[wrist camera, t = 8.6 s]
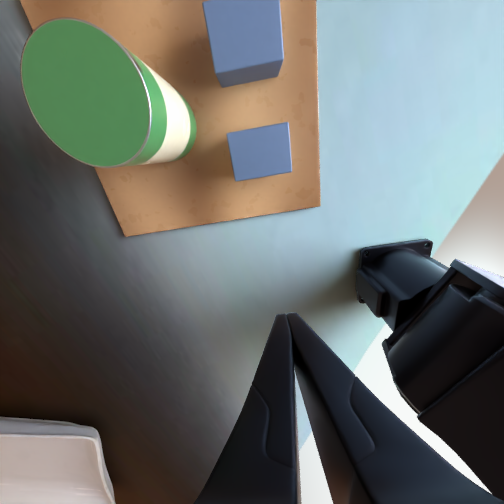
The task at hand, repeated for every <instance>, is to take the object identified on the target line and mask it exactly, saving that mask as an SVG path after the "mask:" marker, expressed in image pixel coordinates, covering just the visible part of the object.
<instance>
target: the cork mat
mask: <svg viewBox="0 0 504 504" xmlns="http://www.w3.org/2000/svg"><path fill="white" fill-rule="evenodd" d="M204 1H208V0H20V2H21V4H22V6H23V9H24V11H25V13H26V15H27V18H28V20H29V22H30V24H31V27H32V29H33V31H34V30H35V29H36V28H37V27H38V26H39V25H41V24H42V23H44V22H46V21H48V20H51V19H54V18H61V17H68V18H76V19H81V20H84V21H87V22H89V23H92V24H94V25H96V26H98V27H99V28H101V29H103V30H104V31H106V32H107V33H108V34H110V35H111V36H112V37H114V38H115V39H116V40H117V41H118V42H119V43H121V44H122V45H123V46H124V47H125V48H127V49H128V50H129V51H130V52H131V53H133V54H134V55H135V56H137V57H138V58H139V59H140V60H141V61H143V62H144V63H145V64H146V65H147V66H149V67H150V68H151V69H152V70H153V71H155V72H156V73H157V74H158V75H159V76H161V77H162V78H163V79H164V80H165V81H166V82H168V83H169V84H170V85H171V86H172V87H173V88H175V89H176V90H177V91H178V92H179V93H180V94H182V95H183V97H184V98H185V99H186V100H187V102H188V103H189V105H190V106H191V108H192V110H193V113H194V116H195V119H196V127H197V132H196V139H195V142H194V145H193V147H192V149H191V150H190V152H189V153H188V154H187V155H186V156H184V157H183V158H181V159H179V160H176V161H171V162H163V163H154V164H145V165H136V166H125V167H116V168H99V167H94V168H95V170H96V172H97V174H98V177H99V179H100V181H101V183H102V186H103V188H104V190H105V192H106V194H107V197H108V199H109V201H110V203H111V206H112V208H113V210H114V212H115V215H116V217H117V219H118V221H119V224H120V226H121V228H122V230H123V233H124V235H125V237H127V236H134V235H140V234H146V233H153V232H159V231H165V230H172V229H178V228H185V227H191V226H197V225H204V224H210V223H216V222H223V221H229V220H236V219H242V218H248V217H255V216H261V215H267V214H274V213H280V212H287V211H293V210H299V209H306V208H312V207H318V206H320V160H319V113H318V66H317V18H316V0H280V10H281V24H282V37H283V51H284V60H283V63H282V66H281V69H280V72H279V75H278V77H274V78H269V79H264V80H259V81H254V82H249V83H244V84H239V85H234V86H229V87H224V88H222V87H221V85H220V83H219V81H218V78H217V76H216V74H215V71H214V66H213V60H212V55H211V49H210V44H209V39H208V33H207V28H206V22H205V17H204V12H203V6H202V2H204ZM284 122H288V123H289V133H290V147H291V160H292V172H290V173H284V174H278V175H272V176H266V177H260V178H254V179H248V180H243V181H237V182H236V181H235V179H234V173H233V168H232V162H231V157H230V152H229V146H228V141H227V135H226V134H227V133H230V132H235V131H241V130H246V129H251V128H257V127H262V126H268V125H273V124H278V123H284Z"/></svg>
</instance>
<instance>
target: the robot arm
mask: <svg viewBox="0 0 504 504" xmlns="http://www.w3.org/2000/svg"><path fill="white" fill-rule="evenodd" d="M426 243H427V244H426ZM425 244H426V245H425ZM424 245H425V246H424ZM432 246H433V242H432V241H430V240H428V239H421V240H414V241H407V242H400V243H393V244H386V245H379V246H372V247H365V248H363V249H362V250H361V251H360V259H359V268H358V270H357V277H356V291H357V300H358V301H359V302H360V303H366V304H367V306H368V307H369V308H370V310H371V311H372V312H373V314H374V315H375V316H376V317H378V318H380V317H382V318H383V319H384V321H385V322H386V323H387V324H388V326H389V327H390V328H391V329H392V331H393V333H392V334H391V335H390V336H389V338H388V339H385V340H384V341H383V342H382V347H383V350H384V352H385V355H386V358H387V361H388V364H389V367H390V370H391V373H392V376H393V381H394V383H395V385H396V387H397V389H398V391H399V393H400V395H401V396H402V398H403V399H404V400H405V401H406V402H407V404H408V405H409V406H410V407H411V408H412V409H413V410H414V411H415V412H416V413H417V414H418V416H417V418H418V420H419V421H420V422H421V423H423V424H424V425H425V426H426V427H427V428H429V429H430V430H431V431H432V432H434V433H435V434H436V435H438V436H439V437H440V438H441V439H442V440H443V441H444V442H445V443H446V444H447V445H448V446H449V447H450V448H451V449H452V450H454V451H455V452H456V453H457V454H458V456H460V458H461V459H462V460H463V461H464V462H465V463H466V464H467V465H468V467H469V468H470V469H471V470H472V471H473V472H474V473H475V475H476V476H477V477H478V478H479V479H480V480H481V482H482V483H483V484H484V485H485V486H486V487H487V488H488V489H489V491H490V492H491V493H492V494H493V495H492V494H490V493H489V492H487V491H486V490H484V489H483V488H481V487H479V486H478V485H476V484H475V483H474V482H472V481H471V480H469V479H468V478H467V477H465V476H464V475H463V474H461V473H460V472H459V471H458V470H456V469H455V468H454V467H453V466H451V464H449V463H448V462H447V461H446V460H445V459H444V458H443V457H441V456H440V455H439V454H438V453H437V452H436V451H435V450H434V449H433V448H431V447H430V446H429V445H428V444H427V443H426V442H425V441H423V440H422V439H421V438H420V437H419V436H418V435H417V434H416V433H415V432H414V431H412V430H411V429H410V428H409V427H408V426H407V425H406V424H405V423H404V422H402V421H401V420H400V419H399V418H398V417H397V416H396V415H395V414H394V413H393V412H392V411H390V410H389V409H388V408H387V407H386V406H385V405H384V404H383V403H382V402H381V401H380V400H379V399H378V398H377V397H376V396H375V395H374V394H373V393H372V392H371V391H370V390H369V389H368V388H367V387H366V386H365V385H364V384H363V383H362V382H361V381H360V380H359V379H358V377H355V374H354V373H353V372H352V371H351V370H350V369H349V368H348V367H347V366H346V365H345V364H344V363H343V362H342V360H341V359H340V358H339V357H338V356H337V355H336V354H335V353H334V352H333V351H332V350H331V349H330V348H329V347H328V346H327V344H326V343H325V342H324V341H323V340H322V339H321V338H320V337H319V336H318V335H317V334H316V333H315V332H314V331H313V330H312V328H311V327H310V326H309V325H308V324H307V323H306V322H305V321H304V320H303V319H302V318H301V317H300V316H299V315H298V314H297V313H296V312H295V313H288V314H287V315H286V314H277V315H276V317H275V320H274V323H273V326H272V329H271V331H270V334H269V337H268V340H267V343H266V345H265V348H264V351H263V354H262V357H261V359H260V362H259V365H258V368H257V371H256V373H255V376H254V379H253V382H252V386H251V387H250V390H249V393H248V396H247V398H246V401H245V403H244V406H243V408H242V411H241V413H240V415H239V417H238V420H237V422H236V424H235V426H234V428H233V430H232V432H231V434H230V436H229V439H228V441H227V443H226V445H225V447H224V449H223V451H222V453H221V455H220V457H219V459H218V461H217V463H216V465H215V467H214V469H213V471H212V473H211V475H210V477H209V479H208V481H207V483H206V484H205V486H204V488H203V490H202V491H201V493H200V495H199V496H198V498H197V499H196V501H195V502H194V504H301V487H300V469H299V448H298V429H297V409H296V390H295V373H296V376H297V380H298V383H299V387H300V390H301V394H302V397H303V400H304V404H305V407H306V411H307V414H308V418H309V421H310V425H311V428H312V432H313V435H314V438H315V442H316V445H317V449H318V452H319V456H320V459H321V463H322V466H323V469H324V473H325V476H326V480H327V483H328V487H329V490H330V493H331V497H332V500H333V504H504V277H501V276H499V275H496V274H494V273H491V272H489V271H486V270H483V269H481V268H478V267H475V266H473V265H470V264H468V263H465V262H462V261H460V260H457V259H455V260H454V261H453V262H452V263H451V265H450V266H451V267H450V268H448V267H446V266H445V265H443V264H441V263H440V262H438V261H436V260H434V259H433V258H431V257H430V255H431V250H432ZM367 251H368V253H367V254H365V252H367ZM294 368H295V373H294Z"/></svg>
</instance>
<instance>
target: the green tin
mask: <svg viewBox="0 0 504 504" xmlns="http://www.w3.org/2000/svg"><path fill="white" fill-rule="evenodd" d="M20 70H21V82H22V87H23V91H24V95H25V98H26V101H27V104H28V106H29V108H30V110H31V113H32V114H33V116H34V118H35V120H36V122H37V123H38V125H39V126H40V127H41V129H42V130H43V132H44V133H45V134H46V135H47V136H48V138H49V139H50V140H51V141H52V142H53V143H54V144H55V145H56V146H57V147H59V148H60V149H61V150H62V151H63V152H65V153H66V154H68V155H69V156H71V157H72V158H74V159H76V160H78V161H80V162H82V163H84V164H87V165H90V166H93V167H99V168H116V167H125V166H136V165H145V164H154V163H163V162H171V161H176V160H179V159H181V158H183V157H184V156H186V155H187V154H188V153H189V152H190V150H191V149H192V147H193V145H194V142H195V139H196V132H197V127H196V119H195V116H194V113H193V110H192V108H191V106H190V105H189V103H188V102H187V100H186V99H185V98H184V97H183V95H182V94H180V93H179V92H178V91H177V90H176V89H175V88H173V87H172V86H171V85H170V84H169V83H168V82H166V81H165V80H164V79H163V78H162V77H161V76H159V75H158V74H157V73H156V72H155V71H153V70H152V69H151V68H150V67H149V66H147V65H146V64H145V63H144V62H143V61H141V60H140V59H139V58H138V57H137V56H135V55H134V54H133V53H131V52H130V51H129V50H128V49H127V48H125V47H124V46H123V45H122V44H121V43H119V42H118V41H117V40H116V39H115V38H114V37H112V36H111V35H110V34H108V33H107V32H106V31H104V30H103V29H101V28H99V27H98V26H96V25H94V24H92V23H89V22H87V21H84V20H81V19H76V18H68V17H61V18H54V19H51V20H48V21H46V22H44V23H42V24H41V25H39V26H38V27H37V28H36V29H35V30H34V31H33V32H32V33H31V34H30V36H29V37H28V39H27V41H26V43H25V45H24V48H23V52H22V56H21V64H20Z"/></svg>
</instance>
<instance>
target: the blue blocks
mask: <svg viewBox="0 0 504 504" xmlns="http://www.w3.org/2000/svg"><path fill="white" fill-rule="evenodd" d="M202 6H203V12H204V17H205V22H206V28H207V33H208V39H209V44H210V49H211V55H212V60H213V66H214V71H215V74H216V76H217V78H218V81H219V83H220V85H221V87H222V88H224V87H229V86H234V85H239V84H244V83H249V82H254V81H259V80H264V79H269V78H274V77H278V75H279V72H280V69H281V66H282V63H283V60H284V51H283V37H282V24H281V10H280V0H208V1H204V2H202ZM226 135H227V141H228V146H229V152H230V157H231V162H232V168H233V173H234V179H235V181H236V182H237V181H243V180H248V179H254V178H260V177H266V176H272V175H278V174H284V173H290V172H292V160H291V147H290V133H289V123H288V122H284V123H278V124H273V125H268V126H262V127H257V128H251V129H246V130H241V131H235V132H230V133H227V134H226Z"/></svg>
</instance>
